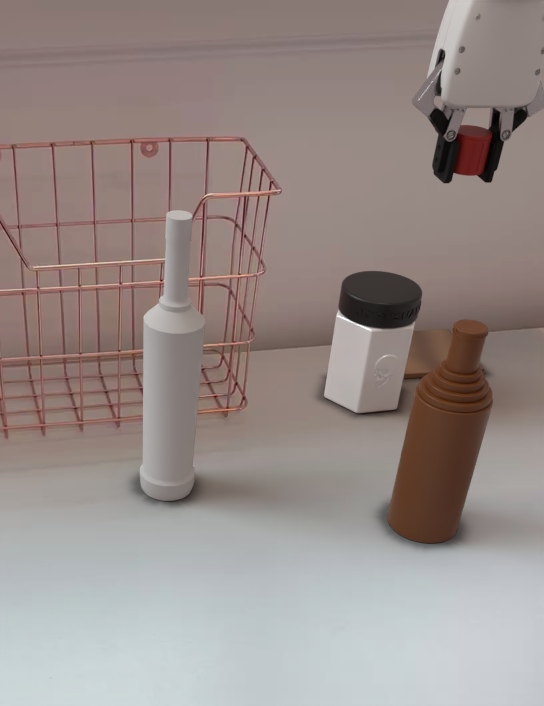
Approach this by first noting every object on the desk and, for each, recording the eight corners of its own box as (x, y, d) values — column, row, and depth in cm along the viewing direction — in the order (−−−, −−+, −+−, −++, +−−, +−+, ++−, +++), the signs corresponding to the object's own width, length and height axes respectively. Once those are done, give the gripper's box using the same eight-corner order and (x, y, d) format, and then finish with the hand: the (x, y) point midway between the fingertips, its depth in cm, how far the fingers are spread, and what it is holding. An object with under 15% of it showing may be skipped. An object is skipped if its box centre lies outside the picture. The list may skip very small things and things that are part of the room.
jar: (337, 417, 107) (356, 307, 99) (310, 379, 113) (326, 272, 105) (416, 409, 109) (440, 301, 101) (385, 373, 115) (406, 267, 107)
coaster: (447, 333, 123) (448, 328, 123) (483, 373, 116) (484, 368, 116) (369, 337, 121) (370, 333, 121) (400, 379, 114) (401, 374, 114)
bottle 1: (142, 468, 98) (150, 200, 81) (196, 474, 98) (215, 206, 81) (135, 499, 94) (141, 224, 78) (191, 505, 94) (210, 230, 77)
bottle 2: (440, 499, 97) (491, 306, 84) (468, 540, 92) (526, 342, 80) (377, 505, 96) (418, 310, 83) (402, 546, 91) (450, 347, 78)
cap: (490, 171, 105) (500, 133, 102) (467, 178, 103) (476, 139, 100) (460, 160, 107) (468, 122, 104) (437, 167, 105) (445, 128, 102)
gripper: (573, -38, 97) (519, 165, 110) (409, -43, 94) (373, 167, 106) (614, -21, 92) (552, 190, 104) (441, -26, 89) (399, 193, 101)
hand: (462, 176), depth 105 cm, fingers closed on cap, 3 cm apart
